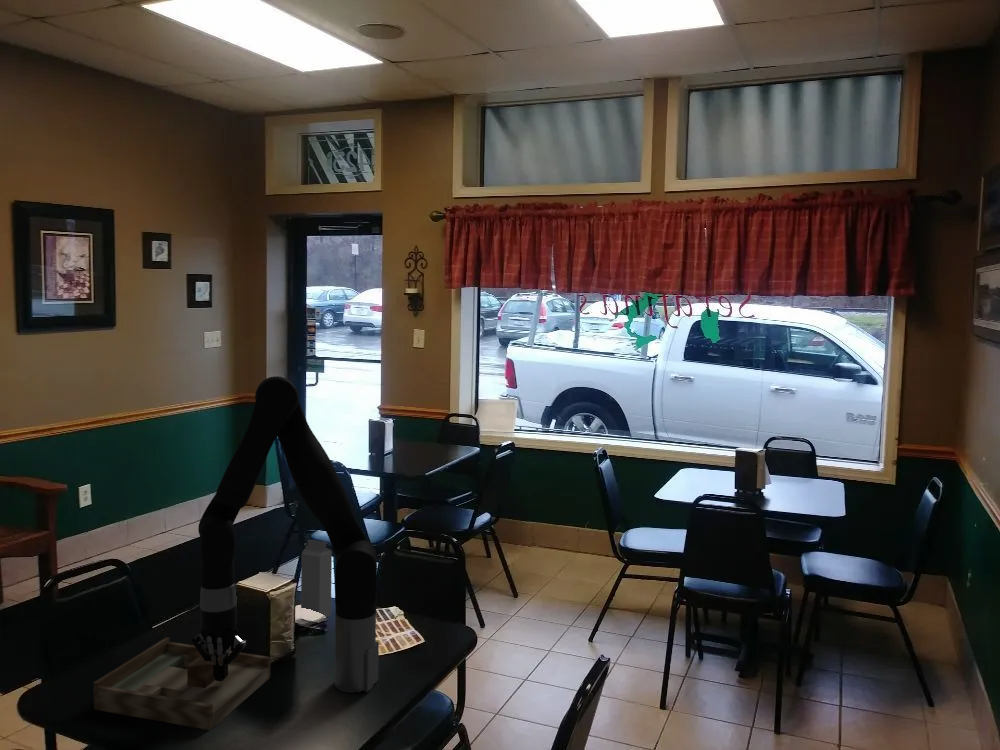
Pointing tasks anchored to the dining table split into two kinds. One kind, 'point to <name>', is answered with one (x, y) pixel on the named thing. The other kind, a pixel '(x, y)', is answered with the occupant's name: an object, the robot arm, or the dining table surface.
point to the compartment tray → (177, 686)
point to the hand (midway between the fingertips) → (220, 679)
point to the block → (200, 673)
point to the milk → (316, 577)
